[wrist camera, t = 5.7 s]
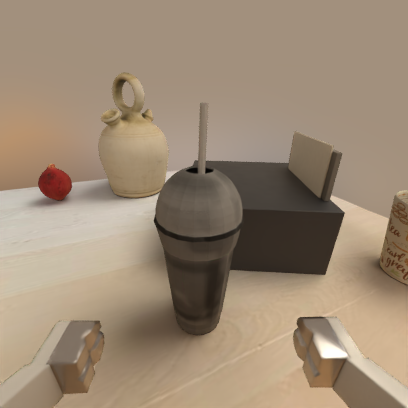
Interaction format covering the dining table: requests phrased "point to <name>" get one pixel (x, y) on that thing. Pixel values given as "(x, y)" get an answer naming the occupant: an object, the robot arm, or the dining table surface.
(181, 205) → the beverage cup
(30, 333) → the dining table surface
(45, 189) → the red pomegranate
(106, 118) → the jug
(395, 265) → the mug
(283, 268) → the printer
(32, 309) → the dining table surface
